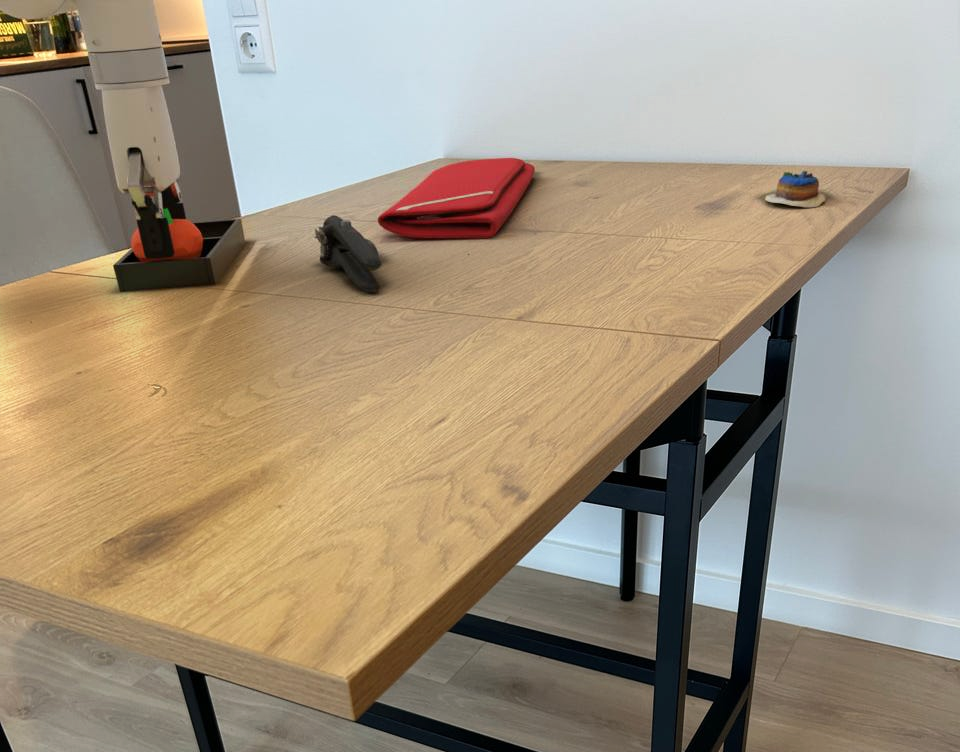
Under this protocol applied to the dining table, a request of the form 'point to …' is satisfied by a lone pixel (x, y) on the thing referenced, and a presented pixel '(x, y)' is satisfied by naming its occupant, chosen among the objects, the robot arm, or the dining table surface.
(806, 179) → the dessert
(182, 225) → the pumpkin
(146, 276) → the tray
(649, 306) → the dining table surface
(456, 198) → the red felt clutch
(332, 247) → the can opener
